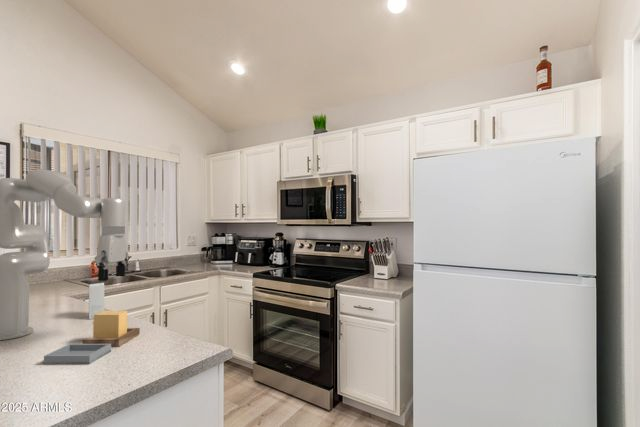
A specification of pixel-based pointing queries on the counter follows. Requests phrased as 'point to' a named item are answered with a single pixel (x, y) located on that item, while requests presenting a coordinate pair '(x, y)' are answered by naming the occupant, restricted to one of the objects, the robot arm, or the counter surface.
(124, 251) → the robot arm
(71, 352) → the grey tray
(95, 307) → the skincare box
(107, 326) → the yellow block
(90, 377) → the counter surface
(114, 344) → the walnut bay
